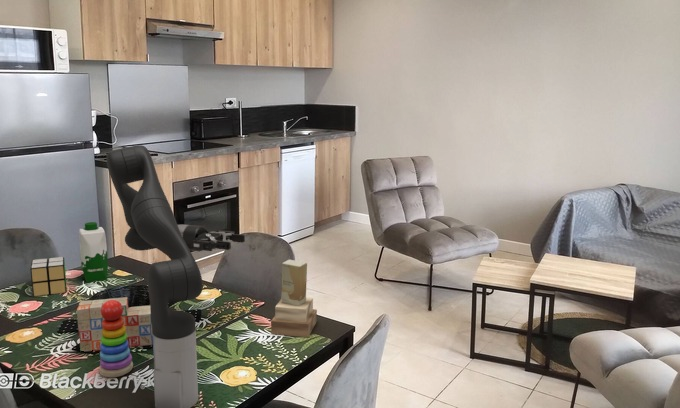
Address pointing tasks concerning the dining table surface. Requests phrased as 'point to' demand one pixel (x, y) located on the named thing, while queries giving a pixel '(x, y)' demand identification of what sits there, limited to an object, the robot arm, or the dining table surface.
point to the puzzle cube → (48, 276)
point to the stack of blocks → (134, 321)
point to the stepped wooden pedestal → (294, 319)
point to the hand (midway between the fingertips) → (237, 242)
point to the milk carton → (93, 252)
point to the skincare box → (294, 282)
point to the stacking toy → (114, 342)
